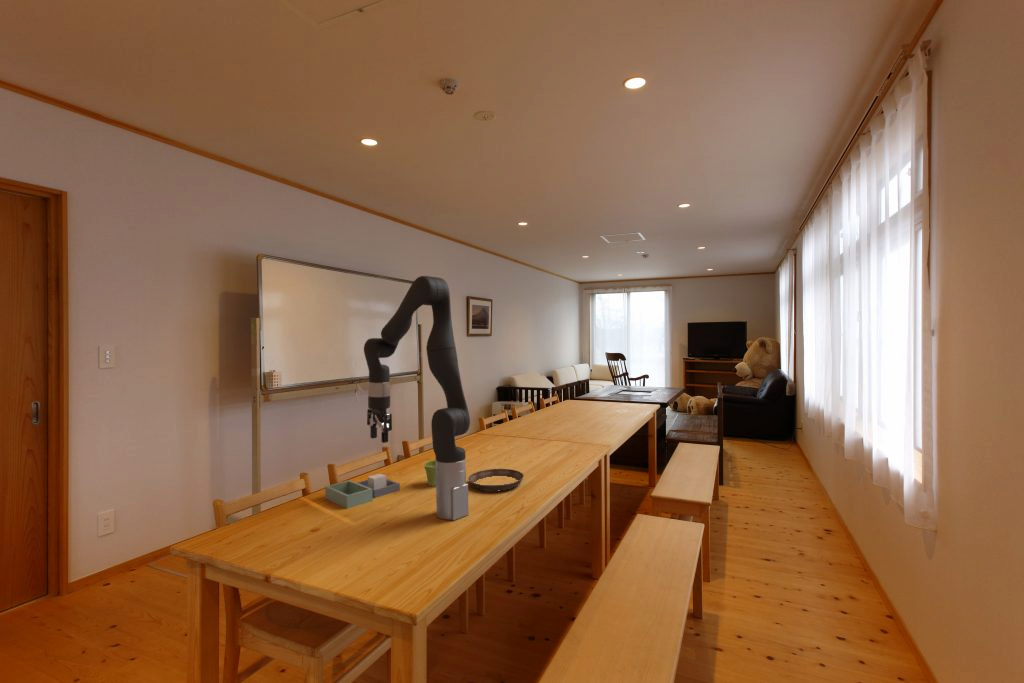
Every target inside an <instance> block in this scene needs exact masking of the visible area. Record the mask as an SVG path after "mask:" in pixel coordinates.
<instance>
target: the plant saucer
mask: <svg viewBox="0 0 1024 683" xmlns="http://www.w3.org/2000/svg"><path fill="white" fill-rule="evenodd" d="M492 476H507V477H512V478H515V479H516V480H518V481H516V482H514V483H510V484H504V485H480V484H476V483H474V482H476V481H477V480H479V479H483V478H486V477H492ZM524 477H525V475H524V473H523V472H521V471H520V470H516V469H510V468H492V469H484V470H479V471H476V472H473V473H471V474H470V475H469V476H468V477H467V479H468V481H469V483H470V484H471V485H472V486H473V487H474V488H475V489H477V488H478V489H477V490H479V489H481V490H480V491H483V490H487V491H486V492H499V491H498V490H505V491H507V490H506V489H509V490H511V489H510V488H512V489H514V488H516V487H517V486H518V485H520V484H521V482H522V481H523V479H524ZM513 487H514V488H513Z"/></svg>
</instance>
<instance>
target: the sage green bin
mask: <svg viewBox="0 0 1024 683" xmlns="http://www.w3.org/2000/svg"><path fill="white" fill-rule="evenodd" d="M324 490H325V492H324V495H325V497H324V498H325V499H326V500H329V501H330V502H333V503H334V504H337V505H339V506H341V507H343V508H345V509H351V508H354V507H358V506H361V505H364V504H368V503H370V502H373V501H374V500H373V497H372V489H371V488H369V487H366V486H363V485H361V484H358V483H357V482H355V481H352V480H350V479H349V480H345V481H341V482H337V483H333V484H329V485H326V486H324Z"/></svg>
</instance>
